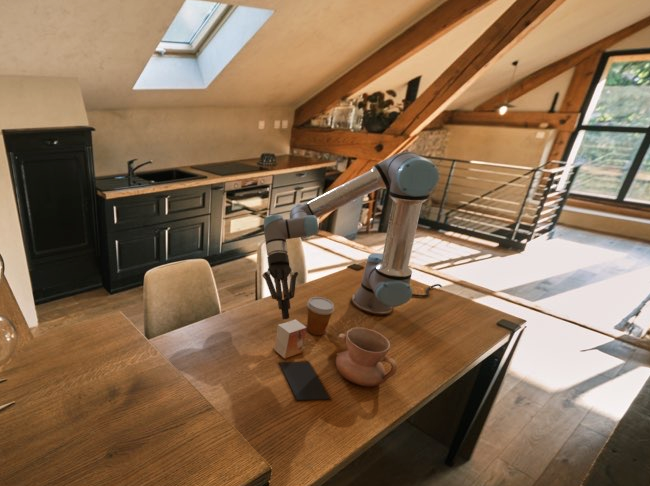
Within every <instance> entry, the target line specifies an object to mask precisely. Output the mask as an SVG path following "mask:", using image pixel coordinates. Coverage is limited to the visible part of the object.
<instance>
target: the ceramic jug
mask: <svg viewBox="0 0 650 486" xmlns="http://www.w3.org/2000/svg"><path fill="white" fill-rule="evenodd" d="M338 338H339V339H341V340H343V341H344V342H345V344H346V347H347V350H343V351H341V352H338V353H336V358H335V367H336V369H337V371H338V372H339V374H340V375H341V376H342V378H344V379H345V380H347V381H349V382H351V383H352V384H354V385H358V386H362V387H377V386H380V385H381V384H383V383H385V382H386V381H387V380H388V379H389V378H391V377H393V376H394V375H395V374H396V373H397V370H398V366H397V362H396V361H395V360H394V359H393V358H391V357H388V356H386V355H387V354H388V352H389V351H390V348H391V343H390V340H389V339H388V338H386V336H385V335H383V334H382V333H381V332H378V331H377V330H374V329H372V328H371V329H370V328H367V327H360V326H356V327H352V328H350V329H348V330H347V331H346V334H345V333H340V334H339V335H338ZM383 363H388V364H389V365H390V368H391V369H390V370H389V371H388V372H386V369H385V366H384V365H383Z"/></svg>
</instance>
